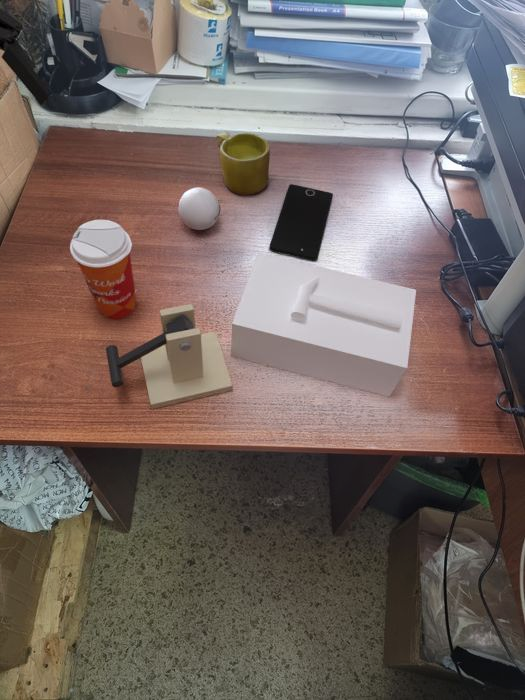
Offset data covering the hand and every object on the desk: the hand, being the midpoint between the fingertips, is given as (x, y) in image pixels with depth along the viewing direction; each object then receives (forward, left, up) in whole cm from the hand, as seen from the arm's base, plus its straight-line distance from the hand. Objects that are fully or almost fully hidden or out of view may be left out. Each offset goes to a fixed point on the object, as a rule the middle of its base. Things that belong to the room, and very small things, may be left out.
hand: (7, 125), depth 61 cm
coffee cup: (+7, -8, -28) cm, 30 cm away
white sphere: (+25, +8, -28) cm, 39 cm away
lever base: (+15, -23, -28) cm, 39 cm away
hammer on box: (+37, -22, -28) cm, 51 cm away
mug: (+35, +18, -28) cm, 48 cm away
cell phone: (+43, +3, -28) cm, 52 cm away
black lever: (+11, -23, -20) cm, 33 cm away
